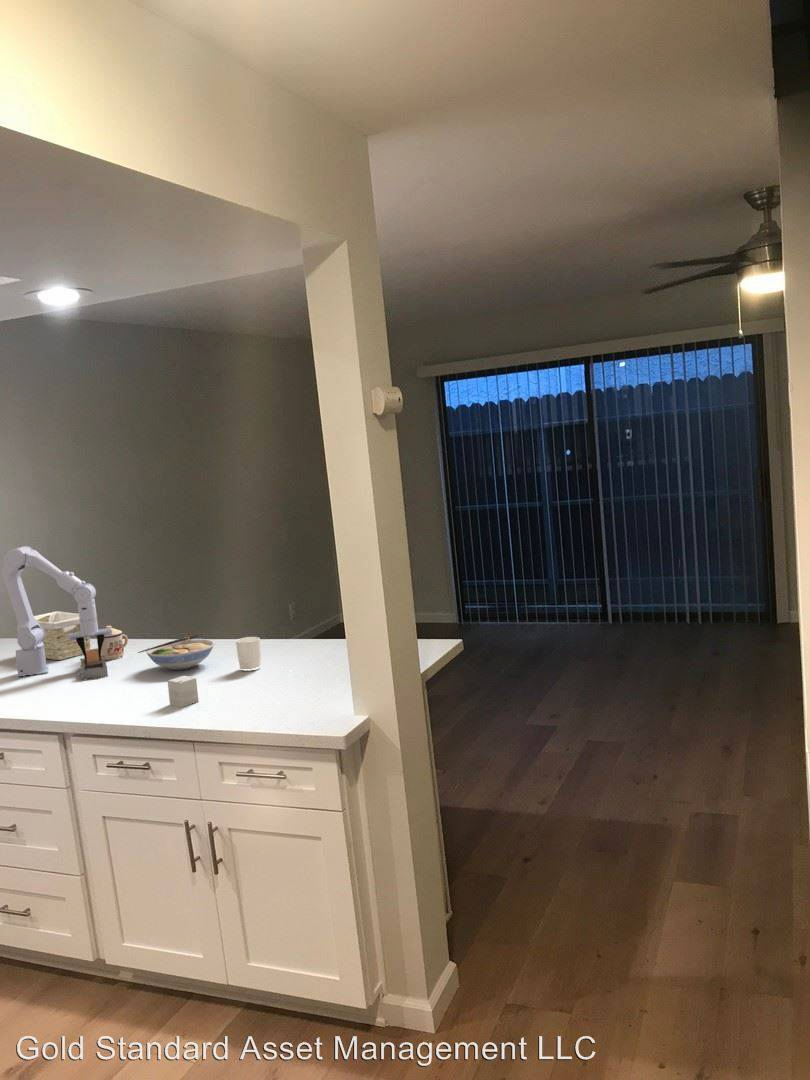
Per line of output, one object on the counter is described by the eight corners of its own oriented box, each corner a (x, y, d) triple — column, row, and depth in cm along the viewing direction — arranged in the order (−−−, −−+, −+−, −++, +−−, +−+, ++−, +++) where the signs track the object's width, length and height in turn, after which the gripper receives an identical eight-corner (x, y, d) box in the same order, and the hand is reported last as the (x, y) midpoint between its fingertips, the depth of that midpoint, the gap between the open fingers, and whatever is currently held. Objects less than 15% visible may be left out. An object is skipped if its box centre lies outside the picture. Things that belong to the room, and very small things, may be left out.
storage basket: (22, 656, 345) (17, 618, 343) (61, 646, 357) (57, 610, 356) (56, 662, 330) (52, 623, 328) (96, 652, 342) (91, 614, 341)
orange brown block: (87, 669, 313) (85, 652, 313) (87, 666, 317) (85, 650, 316) (100, 667, 315) (98, 650, 314) (99, 664, 318) (97, 648, 318)
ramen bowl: (174, 680, 291) (171, 655, 290) (130, 673, 305) (128, 649, 304) (232, 661, 311) (230, 638, 310) (189, 655, 325) (187, 633, 324)
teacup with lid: (109, 661, 325) (105, 629, 324) (93, 659, 331) (90, 627, 329) (136, 653, 335) (133, 622, 334) (121, 651, 340) (117, 621, 339)
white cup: (265, 665, 303) (262, 636, 301) (259, 671, 295) (256, 641, 294) (242, 666, 303) (239, 637, 302) (235, 672, 296) (232, 642, 294)
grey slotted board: (107, 676, 303) (106, 667, 303) (82, 680, 301) (81, 671, 300) (105, 663, 322) (104, 655, 322) (81, 667, 319) (80, 658, 319)
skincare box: (186, 699, 269) (183, 675, 268) (199, 702, 265) (196, 677, 264) (169, 704, 264) (166, 680, 263) (182, 707, 260) (179, 682, 259)
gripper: (66, 624, 308) (70, 663, 309) (110, 618, 313) (115, 656, 314) (65, 620, 314) (70, 659, 316) (109, 615, 319) (113, 652, 321)
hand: (92, 657), depth 316 cm, fingers closed on orange brown block, 4 cm apart
